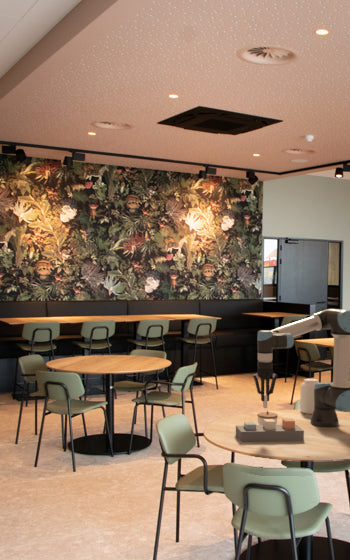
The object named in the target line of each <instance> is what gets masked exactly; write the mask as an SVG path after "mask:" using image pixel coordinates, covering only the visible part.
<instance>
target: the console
mask: <svg viewBox="0 0 350 560" xmlns="http://www.w3.org/2000/svg"><path fill="white" fill-rule="evenodd" d="M235 436H236V438H237V439H238V440H239V441H240V443H253V442H255V443H257V442H259V443H260V442H261V443H262V442H302V441H303V442H304V441H305V430H304V429H303V428H301V427H300V426H299V425H298V424H295V429H284V428H282V424H276V430H265V429H264V428H263V425H259V424H258V425H257V424H256V430H245V429H244V425H235Z"/></svg>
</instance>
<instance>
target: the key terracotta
mask: <svg viewBox="0 0 350 560" xmlns="http://www.w3.org/2000/svg"><path fill="white" fill-rule="evenodd" d="M281 422H282V423H281V425H282V428H284V429H295V425H296V420H294V418H282V421H281Z"/></svg>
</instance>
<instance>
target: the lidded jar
mask: <svg viewBox="0 0 350 560" xmlns="http://www.w3.org/2000/svg"><path fill="white" fill-rule="evenodd" d="M278 417H279V416H278V413H275V412H270V411H268V410H267V411H261V412H258V413H257V423H258V425H263V419H274V420H275V421H276V425H278V424H277V423H278Z"/></svg>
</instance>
